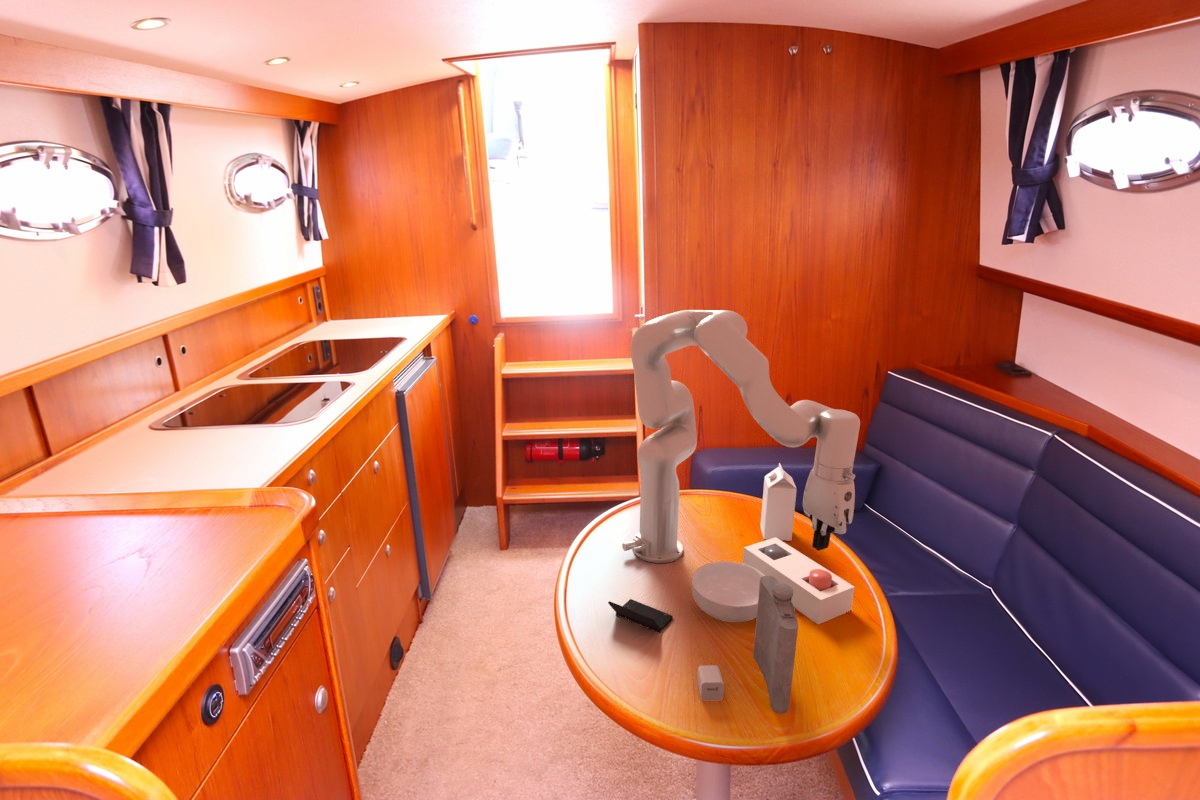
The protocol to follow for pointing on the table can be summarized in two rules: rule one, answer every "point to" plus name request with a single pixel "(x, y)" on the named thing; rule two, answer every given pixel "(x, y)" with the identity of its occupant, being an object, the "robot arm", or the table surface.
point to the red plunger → (820, 579)
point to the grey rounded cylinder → (774, 552)
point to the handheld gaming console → (642, 615)
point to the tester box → (801, 581)
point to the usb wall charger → (710, 683)
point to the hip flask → (776, 640)
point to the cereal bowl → (727, 590)
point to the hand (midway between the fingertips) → (820, 547)
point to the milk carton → (778, 505)
